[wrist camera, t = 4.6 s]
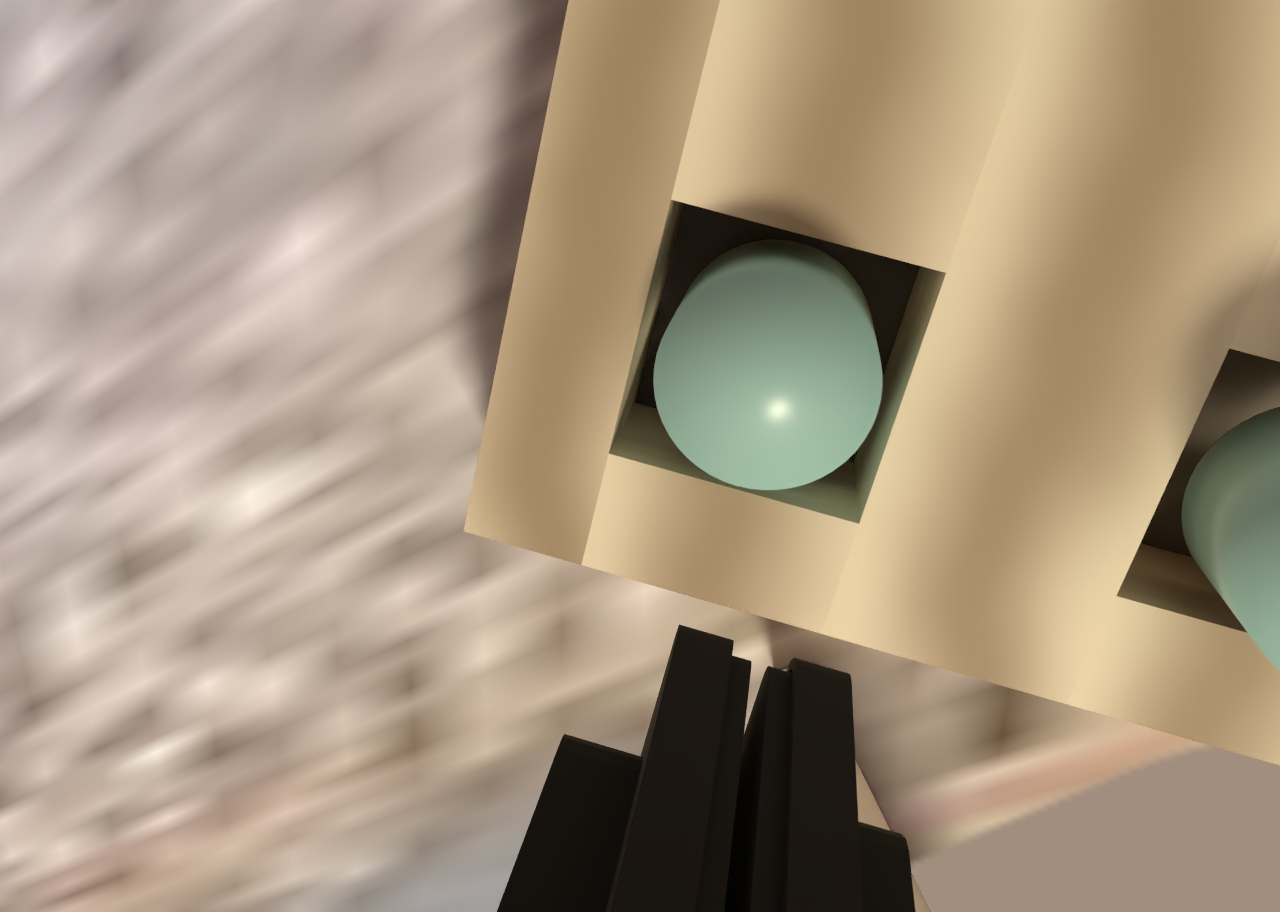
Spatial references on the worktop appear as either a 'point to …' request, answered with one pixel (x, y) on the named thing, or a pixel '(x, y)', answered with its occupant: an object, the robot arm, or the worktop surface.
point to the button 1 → (770, 367)
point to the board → (919, 324)
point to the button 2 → (1241, 525)
